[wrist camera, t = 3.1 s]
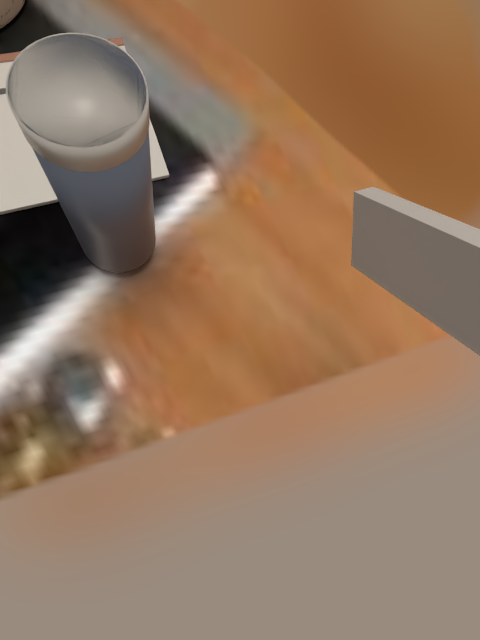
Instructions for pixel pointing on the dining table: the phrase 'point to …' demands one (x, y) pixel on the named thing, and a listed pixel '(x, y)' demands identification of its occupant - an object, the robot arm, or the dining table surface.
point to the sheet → (22, 164)
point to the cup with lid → (90, 141)
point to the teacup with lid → (9, 10)
